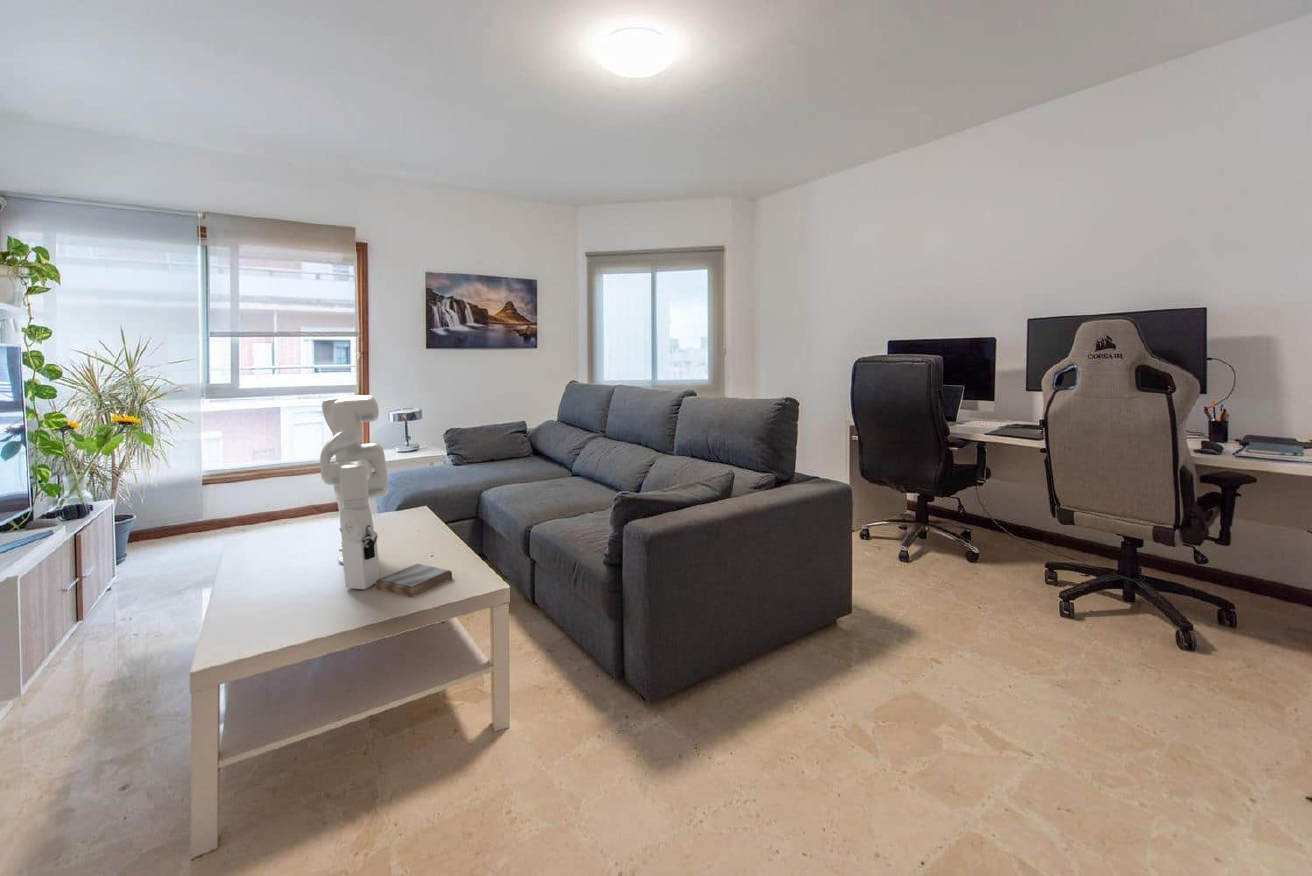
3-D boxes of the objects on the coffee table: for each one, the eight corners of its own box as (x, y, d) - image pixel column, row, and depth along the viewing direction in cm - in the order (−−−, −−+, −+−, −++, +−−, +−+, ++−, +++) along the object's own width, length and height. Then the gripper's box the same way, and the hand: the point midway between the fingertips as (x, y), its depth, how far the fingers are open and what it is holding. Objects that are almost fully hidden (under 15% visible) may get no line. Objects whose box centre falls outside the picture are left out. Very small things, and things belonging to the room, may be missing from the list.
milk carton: (365, 590, 178) (359, 531, 175) (345, 588, 180) (339, 530, 177) (380, 581, 185) (375, 524, 182) (361, 579, 186) (356, 523, 184)
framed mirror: (376, 588, 180) (375, 579, 180) (418, 571, 194) (417, 563, 194) (411, 597, 173) (411, 587, 173) (452, 578, 187) (451, 570, 187)
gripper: (326, 503, 179) (331, 556, 181) (363, 509, 171) (368, 564, 174) (348, 497, 185) (353, 548, 188) (384, 503, 178) (389, 556, 180)
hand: (360, 556), depth 181 cm, fingers closed on milk carton, 8 cm apart
